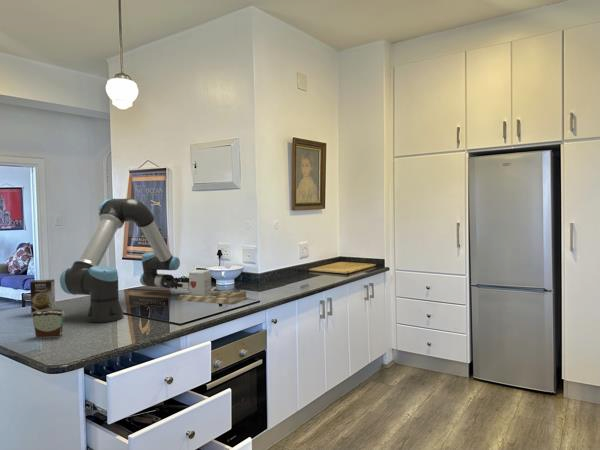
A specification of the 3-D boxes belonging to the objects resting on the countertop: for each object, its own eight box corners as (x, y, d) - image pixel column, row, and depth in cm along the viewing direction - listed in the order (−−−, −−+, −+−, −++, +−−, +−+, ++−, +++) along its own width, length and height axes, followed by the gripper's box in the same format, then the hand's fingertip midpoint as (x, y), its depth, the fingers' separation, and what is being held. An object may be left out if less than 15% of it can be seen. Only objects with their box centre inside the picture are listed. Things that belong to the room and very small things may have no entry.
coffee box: (30, 316, 206) (29, 282, 205) (35, 313, 212) (33, 280, 212) (52, 314, 209) (51, 280, 208) (56, 311, 215) (54, 278, 214)
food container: (71, 332, 178) (70, 307, 178) (64, 336, 172) (63, 311, 172) (40, 333, 178) (39, 308, 177) (31, 337, 172) (30, 312, 171)
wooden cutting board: (179, 300, 236) (179, 292, 236) (201, 293, 254) (201, 286, 254) (230, 304, 223) (230, 296, 223) (250, 296, 241) (249, 289, 241)
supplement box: (189, 299, 237) (188, 271, 236) (196, 296, 245) (196, 269, 245) (204, 300, 235) (203, 272, 234) (211, 296, 243) (211, 269, 243)
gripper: (179, 283, 262) (209, 286, 253) (149, 291, 239) (181, 294, 231) (179, 271, 261) (209, 273, 253) (149, 277, 238) (181, 280, 230)
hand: (195, 283), depth 242 cm, fingers open, 13 cm apart
